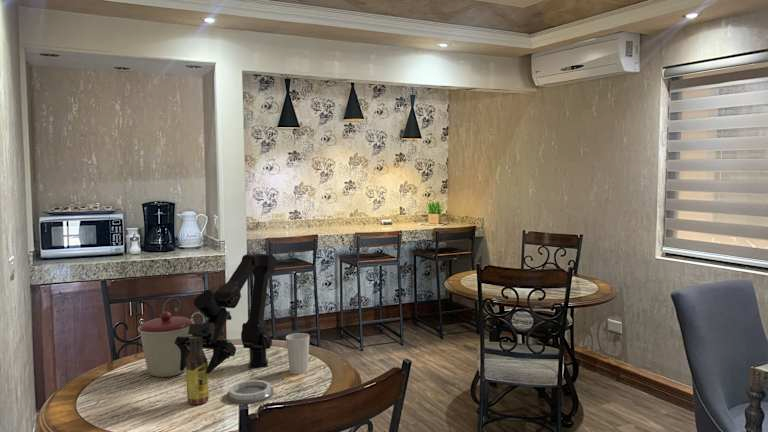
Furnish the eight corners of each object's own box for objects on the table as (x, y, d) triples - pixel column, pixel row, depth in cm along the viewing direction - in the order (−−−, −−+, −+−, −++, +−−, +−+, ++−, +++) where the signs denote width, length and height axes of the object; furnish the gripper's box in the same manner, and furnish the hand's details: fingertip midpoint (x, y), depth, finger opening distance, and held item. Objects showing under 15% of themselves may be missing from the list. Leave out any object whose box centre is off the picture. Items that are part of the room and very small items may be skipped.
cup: (288, 367, 206) (286, 333, 205) (311, 366, 207) (309, 332, 206) (286, 375, 198) (284, 340, 197) (310, 374, 199) (309, 339, 198)
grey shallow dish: (229, 388, 188) (228, 381, 188) (274, 384, 190) (273, 377, 190) (224, 405, 174) (224, 398, 174) (273, 401, 176) (272, 394, 176)
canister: (128, 378, 199) (124, 316, 198) (167, 361, 216) (163, 304, 214) (171, 384, 193) (167, 320, 191) (207, 366, 209) (204, 307, 208)
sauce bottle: (202, 406, 174) (199, 340, 172) (183, 405, 175) (179, 339, 174) (213, 397, 181) (210, 333, 179) (194, 396, 182) (191, 333, 180)
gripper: (176, 310, 182) (153, 356, 173) (228, 313, 176) (208, 362, 167) (193, 328, 191) (173, 373, 181) (244, 332, 184) (225, 379, 175)
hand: (194, 371), depth 176 cm, fingers open, 9 cm apart
